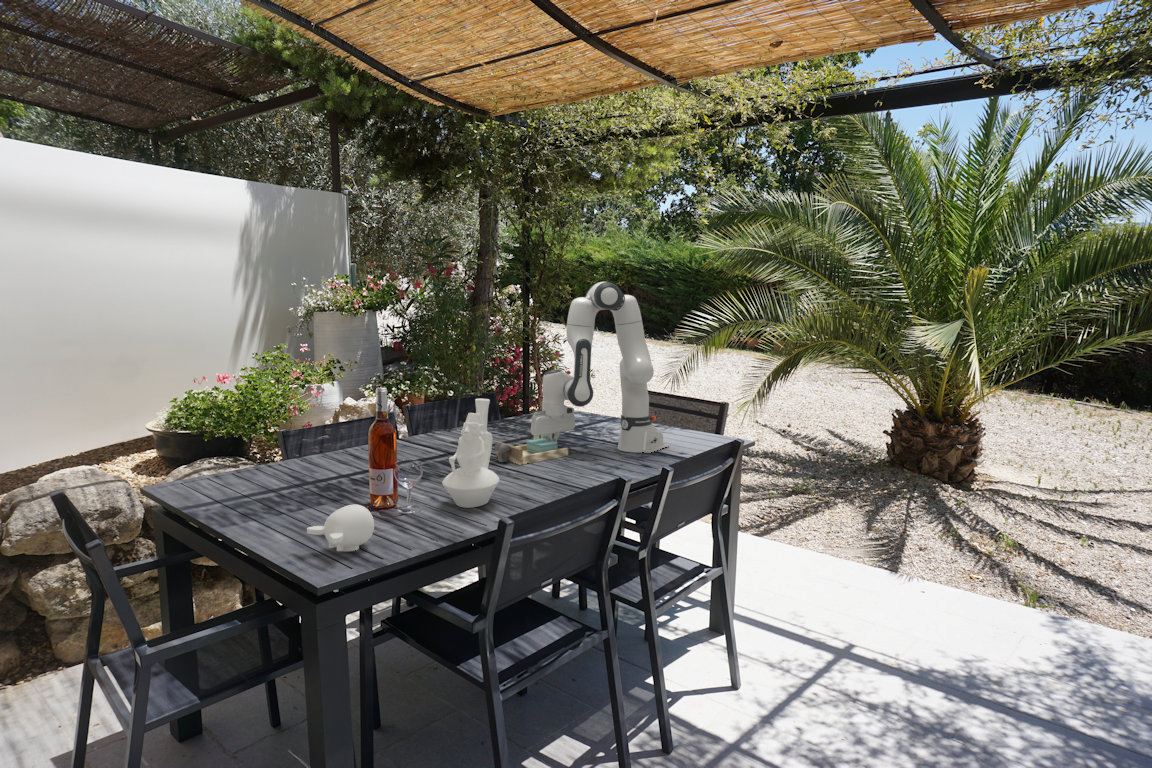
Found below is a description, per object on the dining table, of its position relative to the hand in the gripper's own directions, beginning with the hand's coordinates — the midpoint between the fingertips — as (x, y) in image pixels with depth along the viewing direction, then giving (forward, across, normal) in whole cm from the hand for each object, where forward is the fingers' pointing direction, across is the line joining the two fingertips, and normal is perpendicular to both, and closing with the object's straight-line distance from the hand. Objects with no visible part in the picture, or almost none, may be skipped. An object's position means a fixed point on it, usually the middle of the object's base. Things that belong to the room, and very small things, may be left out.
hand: (553, 443), depth 291 cm
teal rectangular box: (+2, -6, 0) cm, 6 cm away
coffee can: (+4, +6, +14) cm, 16 cm away
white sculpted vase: (+4, -59, -36) cm, 69 cm away
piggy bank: (+4, -106, -49) cm, 117 cm away
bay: (+4, -13, 0) cm, 14 cm away
